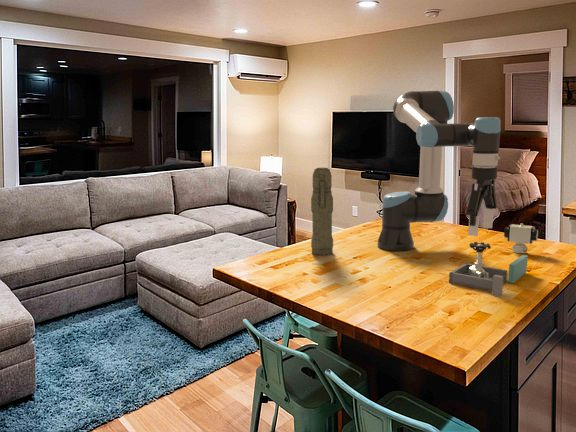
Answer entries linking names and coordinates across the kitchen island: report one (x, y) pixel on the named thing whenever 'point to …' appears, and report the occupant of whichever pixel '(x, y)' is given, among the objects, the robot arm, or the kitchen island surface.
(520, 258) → the gate
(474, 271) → the valve
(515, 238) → the pneumatic valve
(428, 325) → the kitchen island surface
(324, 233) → the grey carved statue
